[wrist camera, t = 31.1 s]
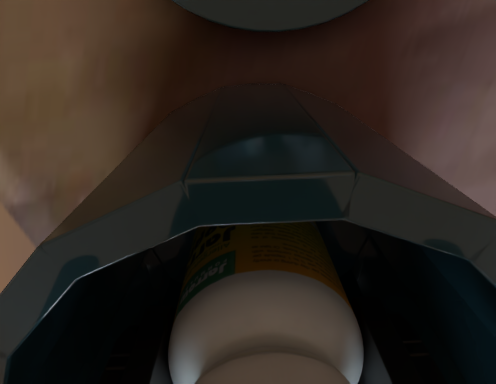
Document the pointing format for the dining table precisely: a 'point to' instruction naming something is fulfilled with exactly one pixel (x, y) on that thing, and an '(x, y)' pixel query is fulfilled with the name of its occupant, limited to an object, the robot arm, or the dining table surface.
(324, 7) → the lid
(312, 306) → the supplement bottle
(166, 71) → the dining table surface
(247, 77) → the dining table surface
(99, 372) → the pot
